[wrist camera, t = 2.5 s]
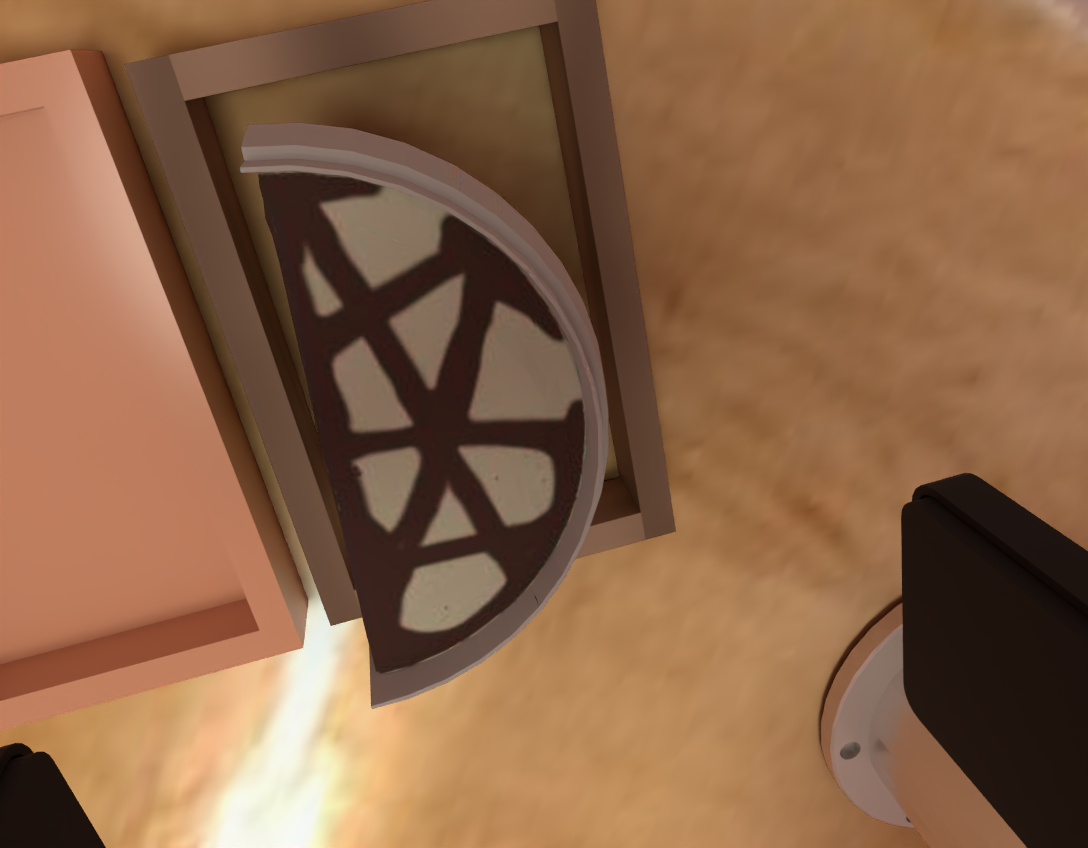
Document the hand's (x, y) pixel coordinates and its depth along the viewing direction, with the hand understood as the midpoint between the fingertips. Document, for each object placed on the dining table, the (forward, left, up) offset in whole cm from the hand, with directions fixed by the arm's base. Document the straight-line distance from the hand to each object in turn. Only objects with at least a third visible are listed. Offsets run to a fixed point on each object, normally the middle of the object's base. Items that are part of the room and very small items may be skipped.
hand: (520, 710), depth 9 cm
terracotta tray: (+12, 0, -18) cm, 21 cm away
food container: (0, 0, -18) cm, 18 cm away
